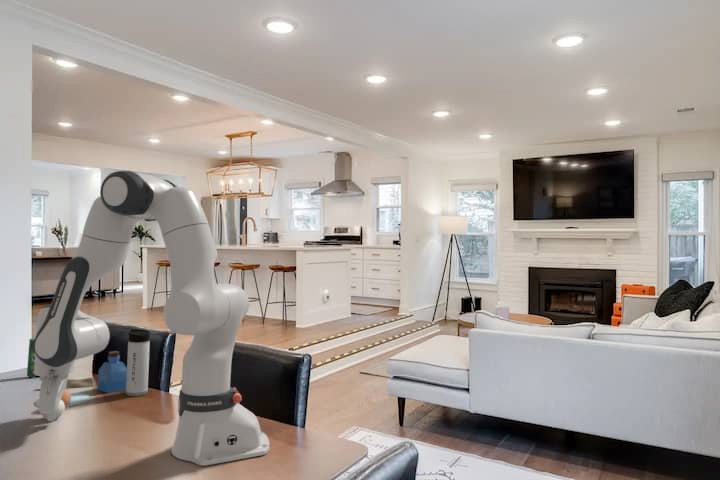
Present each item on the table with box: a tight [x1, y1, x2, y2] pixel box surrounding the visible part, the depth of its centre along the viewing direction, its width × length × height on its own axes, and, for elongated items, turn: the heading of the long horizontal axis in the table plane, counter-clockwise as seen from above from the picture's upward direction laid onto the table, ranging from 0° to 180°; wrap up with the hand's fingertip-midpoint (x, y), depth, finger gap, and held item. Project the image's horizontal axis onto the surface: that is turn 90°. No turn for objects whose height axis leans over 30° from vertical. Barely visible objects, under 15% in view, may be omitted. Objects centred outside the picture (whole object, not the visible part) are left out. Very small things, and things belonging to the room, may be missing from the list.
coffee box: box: [26, 338, 36, 377], centre depth 171 cm, size 8×3×13 cm, turn 130°
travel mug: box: [125, 328, 151, 397], centre depth 157 cm, size 6×7×20 cm
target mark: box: [34, 392, 90, 408], centre depth 148 cm, size 14×14×1 cm
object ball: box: [61, 388, 71, 406], centre depth 141 cm, size 6×6×6 cm
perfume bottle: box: [97, 350, 127, 394], centre depth 160 cm, size 6×6×12 cm
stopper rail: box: [66, 376, 94, 389], centre depth 161 cm, size 14×2×2 cm, turn 115°
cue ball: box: [40, 400, 66, 420], centre depth 133 cm, size 6×6×6 cm
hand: (52, 419), depth 128 cm, fingers closed
